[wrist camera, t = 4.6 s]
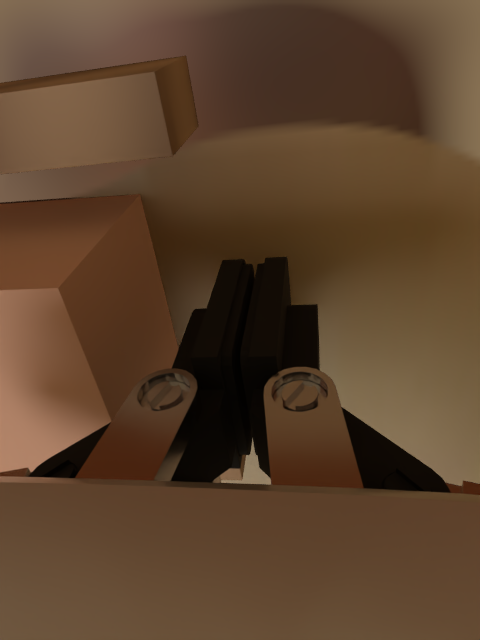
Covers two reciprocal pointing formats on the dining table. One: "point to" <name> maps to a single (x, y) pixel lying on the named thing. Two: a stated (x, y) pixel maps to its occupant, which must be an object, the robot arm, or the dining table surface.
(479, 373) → the dining table surface
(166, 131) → the channel
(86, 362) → the block
